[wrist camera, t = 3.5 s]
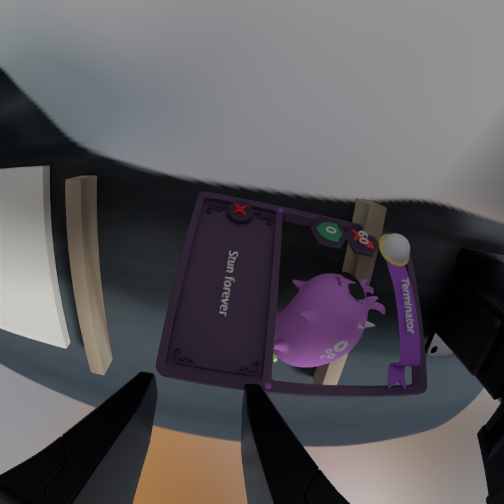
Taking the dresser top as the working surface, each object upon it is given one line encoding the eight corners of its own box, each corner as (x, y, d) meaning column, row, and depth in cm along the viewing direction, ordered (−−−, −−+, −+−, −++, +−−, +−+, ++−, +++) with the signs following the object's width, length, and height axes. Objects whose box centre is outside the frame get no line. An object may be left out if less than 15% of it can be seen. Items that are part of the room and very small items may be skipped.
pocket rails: (372, 201, 12) (386, 207, 11) (326, 377, 16) (332, 395, 14) (82, 175, 11) (65, 179, 10) (100, 355, 15) (91, 372, 13)
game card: (200, 176, 10) (416, 226, 11) (195, 252, 15) (362, 282, 16) (150, 368, 7) (440, 388, 8) (167, 388, 11) (365, 406, 12)
